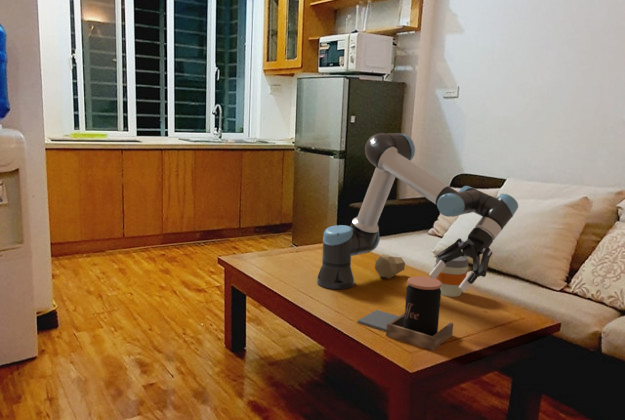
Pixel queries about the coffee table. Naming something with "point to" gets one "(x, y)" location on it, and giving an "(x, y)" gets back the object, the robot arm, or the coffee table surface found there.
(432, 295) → the coffee jar
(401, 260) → the low-poly potato
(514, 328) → the coffee table surface
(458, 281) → the reusable coffee cup
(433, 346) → the walnut holder
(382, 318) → the charcoal mat
